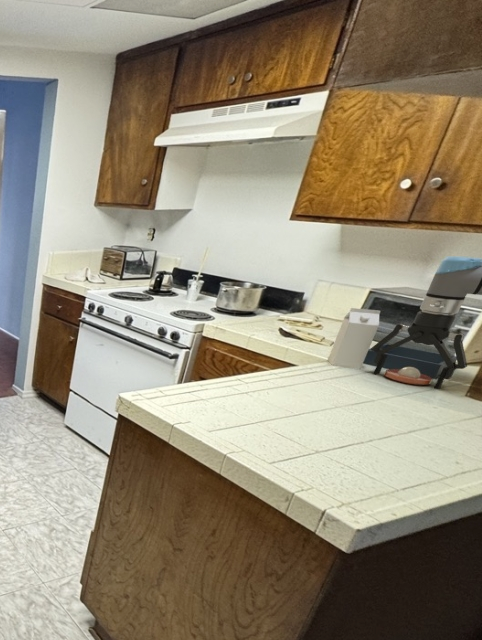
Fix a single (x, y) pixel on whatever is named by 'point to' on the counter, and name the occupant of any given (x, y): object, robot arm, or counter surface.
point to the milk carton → (354, 338)
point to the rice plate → (408, 376)
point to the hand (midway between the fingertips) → (404, 381)
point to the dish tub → (410, 360)
